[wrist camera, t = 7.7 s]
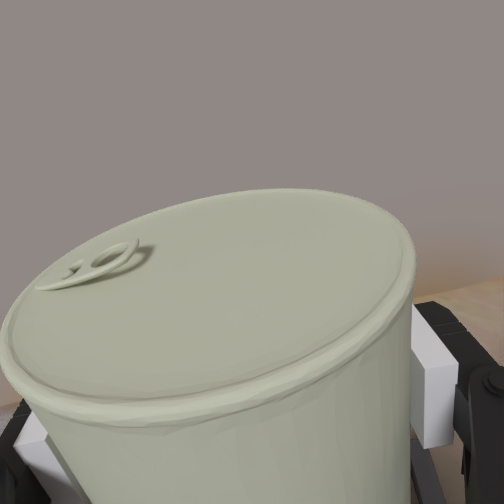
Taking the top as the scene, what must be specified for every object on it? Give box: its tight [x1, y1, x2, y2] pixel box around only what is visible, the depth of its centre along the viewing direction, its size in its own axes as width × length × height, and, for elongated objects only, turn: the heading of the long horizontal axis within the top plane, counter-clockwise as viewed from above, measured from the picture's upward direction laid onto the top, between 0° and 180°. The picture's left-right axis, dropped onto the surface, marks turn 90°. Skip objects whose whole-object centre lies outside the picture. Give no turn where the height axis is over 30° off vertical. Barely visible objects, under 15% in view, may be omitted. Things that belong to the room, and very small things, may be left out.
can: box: [0, 188, 417, 504], centre depth 12 cm, size 9×9×12 cm
